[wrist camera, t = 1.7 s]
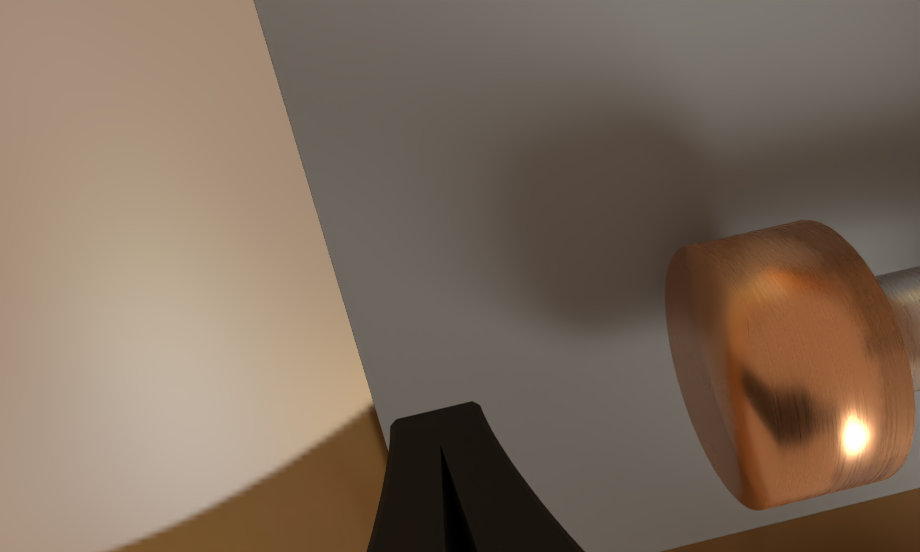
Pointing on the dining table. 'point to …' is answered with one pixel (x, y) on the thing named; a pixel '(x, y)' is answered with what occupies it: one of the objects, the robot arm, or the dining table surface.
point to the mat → (589, 211)
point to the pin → (794, 361)
